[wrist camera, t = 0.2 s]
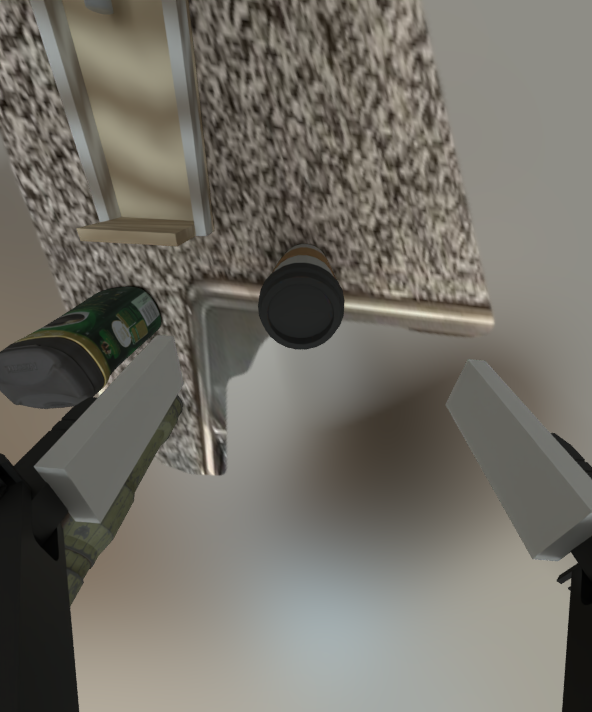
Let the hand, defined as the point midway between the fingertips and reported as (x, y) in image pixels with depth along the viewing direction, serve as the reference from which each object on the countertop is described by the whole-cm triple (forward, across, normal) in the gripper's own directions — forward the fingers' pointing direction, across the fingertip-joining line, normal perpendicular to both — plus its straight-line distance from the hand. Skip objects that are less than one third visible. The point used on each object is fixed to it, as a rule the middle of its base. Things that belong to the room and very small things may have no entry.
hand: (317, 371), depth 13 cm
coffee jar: (+28, -27, -12) cm, 40 cm away
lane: (+28, -19, +12) cm, 36 cm away
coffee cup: (+28, -1, -3) cm, 28 cm away
